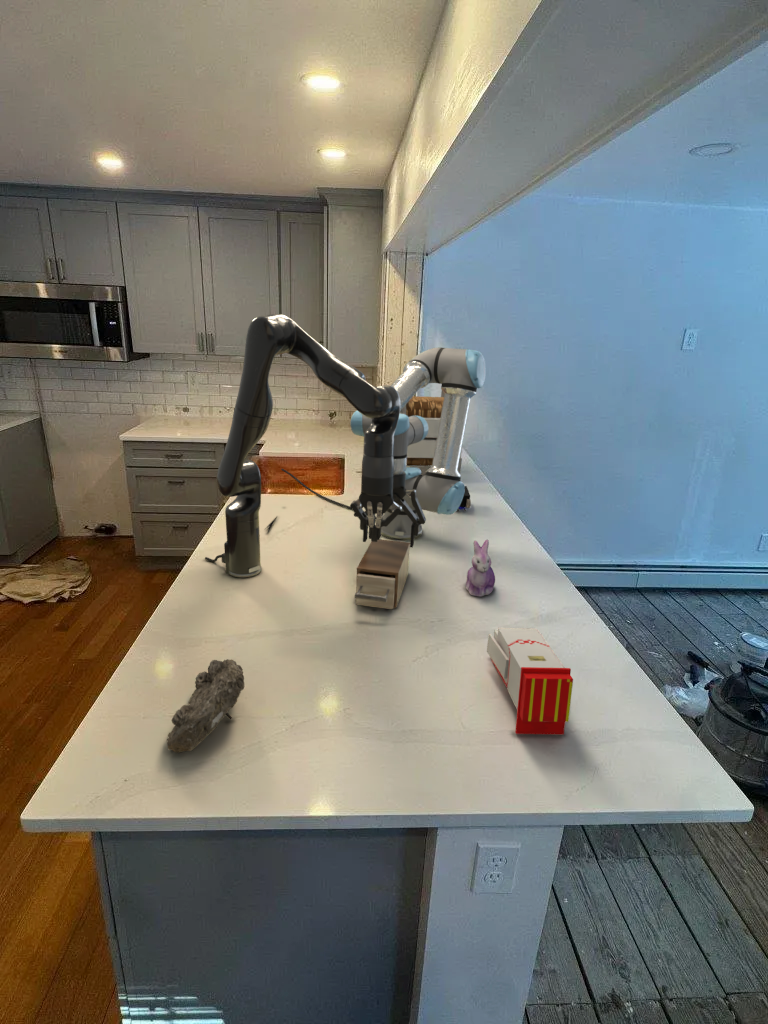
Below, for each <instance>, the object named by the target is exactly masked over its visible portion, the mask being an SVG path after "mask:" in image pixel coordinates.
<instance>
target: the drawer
mask: <svg viewBox="0 0 768 1024" xmlns="http://www.w3.org/2000/svg"><path fill="white" fill-rule="evenodd" d="M356 577H357V583H356V582H355V584H356V585H355V593H354V599H355V605H357V606H364V607H373V608H380V609H388V610H394V608H393V607H394V591H395V575H388V574H380V573H372V572H363V571H362V574H357V573H356Z"/></svg>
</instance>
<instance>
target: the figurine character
mask: <svg viewBox="0 0 768 1024" xmlns="http://www.w3.org/2000/svg"><path fill="white" fill-rule="evenodd" d="M464 489H465V491H464V496H463V499H462V502H461V504H460V506H459V508H458V509H457V511H456V512H460V510H463V511H464V513H466V512H467V509H470V508H471V505H472V504H471V501H472V500H471V494H470V491H469V488H468V486H467V485H465V488H464ZM466 508H467V509H466Z"/></svg>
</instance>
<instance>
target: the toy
mask: <svg viewBox="0 0 768 1024" xmlns="http://www.w3.org/2000/svg"><path fill="white" fill-rule="evenodd" d="M493 633H494V634H492V633H488V638H487V645H486V653H487V654H488V656H489V658H490V661H491V662H492V664H493V666H494V667H495V669H496V671H497V673H498V675H499V676H500V678H501V680H502V683H503V684H504V686H505V688H506V689H507V692H508V694H509V696H510V698H511V701H512V702H513V705H514V706H515V709H516V721H515V734H516V735H557V736H558V735H563V736H565V727H566V723H569V721H570V711H571V703H572V695H573V693H572V692H573V685H574V678H573V677H572V676H571V672H572V669H571V667H565V665H564V664H563V662H562V661H561V660H560V658H559V657H558V656H557V654H556V653H555V652H554V650H553V649H552V647H551V646H550V645H549V643H548V642H547V641H546V639H545V637H544V635H543V633H541V632H540V631H539V629H538V628H535V627H534V628H533V627H532V628H531V627H529V628H526V627H525V628H524V627H498V628H497V629H494V632H493Z"/></svg>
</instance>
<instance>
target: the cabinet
mask: <svg viewBox="0 0 768 1024" xmlns="http://www.w3.org/2000/svg"><path fill="white" fill-rule="evenodd" d="M410 551H411V547H410V542H408V541H407V542H406V541H401V540H392V539H381V538H380V539H379V540H378V541H377V542H373V541H371V540H370V544H369V545H368V548H367V549H366V550H365V552H364V554H363V556H362V558H361V560H360V562H359V563H358V565H357V567H356V575H357V574H362V571H363V572H372V573H380V574H388V575H395V591H394V607H393V609H397V608H398V605H399V603H400V599H401V596H402V594H403V590H404V588H405V584H406V582H407V579H408V576H409V569H410V554H411V553H410ZM355 578H356V581H355V584H356V583H357V576H356V577H355Z"/></svg>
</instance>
